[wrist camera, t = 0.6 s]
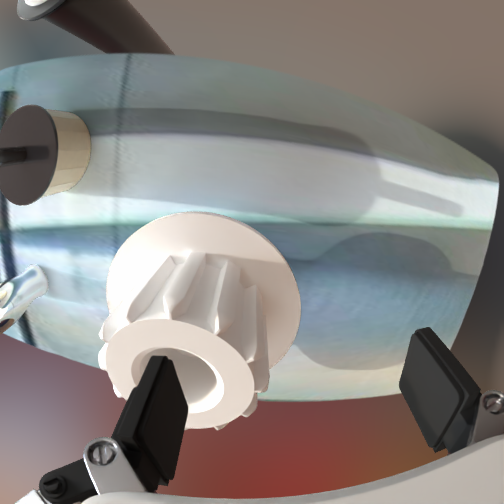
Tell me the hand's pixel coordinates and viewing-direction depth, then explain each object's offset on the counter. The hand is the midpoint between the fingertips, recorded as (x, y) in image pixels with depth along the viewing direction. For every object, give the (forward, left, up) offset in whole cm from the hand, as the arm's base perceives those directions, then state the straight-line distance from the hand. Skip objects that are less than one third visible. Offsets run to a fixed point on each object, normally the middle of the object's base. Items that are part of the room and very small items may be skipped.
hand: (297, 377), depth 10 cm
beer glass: (+6, -42, -29) cm, 51 cm away
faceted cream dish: (-14, -30, -29) cm, 44 cm away
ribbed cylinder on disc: (+10, -10, -29) cm, 32 cm away
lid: (-14, -30, -20) cm, 39 cm away
